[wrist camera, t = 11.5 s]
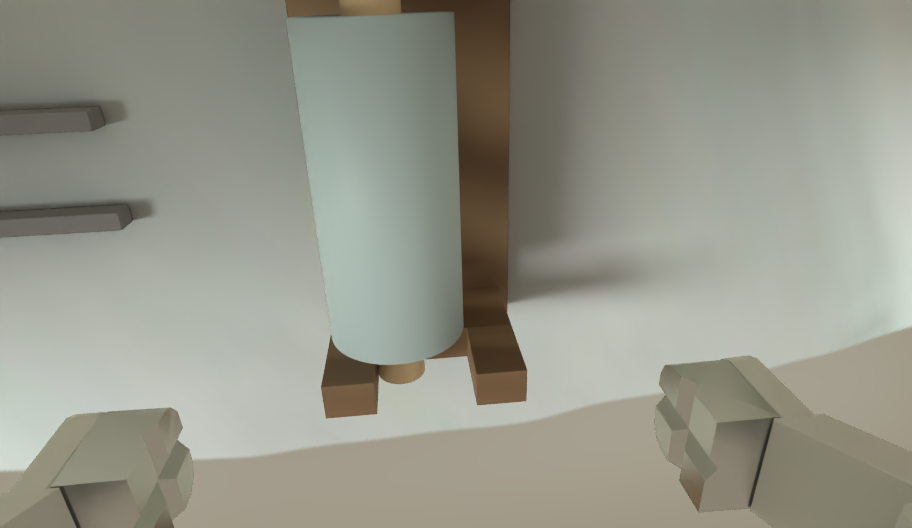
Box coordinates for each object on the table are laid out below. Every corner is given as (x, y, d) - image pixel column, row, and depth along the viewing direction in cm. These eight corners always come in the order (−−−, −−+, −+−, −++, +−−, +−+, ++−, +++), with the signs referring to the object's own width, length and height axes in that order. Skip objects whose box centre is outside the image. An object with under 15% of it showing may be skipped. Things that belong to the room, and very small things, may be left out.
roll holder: (504, 304, 30) (538, 400, 23) (333, 316, 30) (313, 419, 23) (507, -64, 23) (557, -90, 16) (280, -58, 23) (226, -83, 15)
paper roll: (384, -53, 22) (243, -57, 18) (488, -67, 18) (334, -76, 14) (412, 323, 28) (313, 369, 25) (491, 370, 25) (387, 431, 21)
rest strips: (-50, 231, 26) (-69, 241, 25) (-101, 115, 24) (-124, 121, 23) (132, 220, 27) (121, 230, 26) (99, 106, 24) (86, 111, 23)
